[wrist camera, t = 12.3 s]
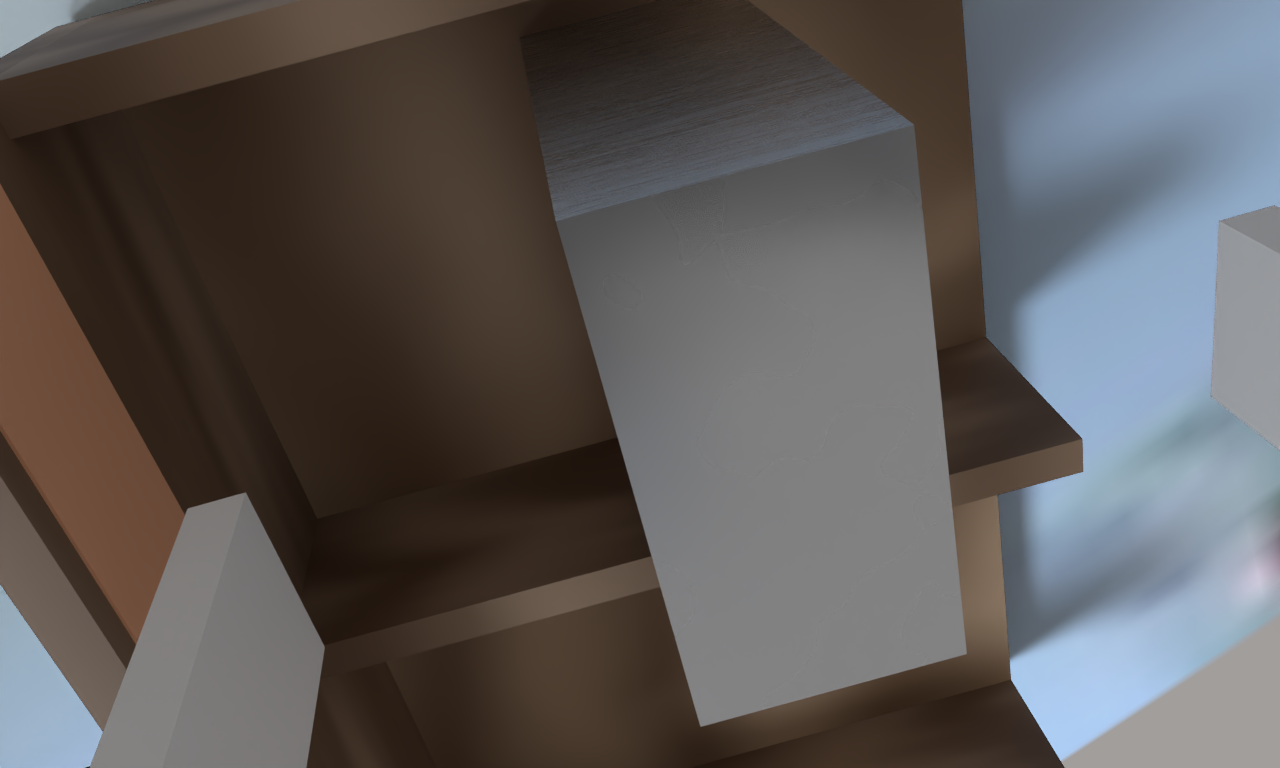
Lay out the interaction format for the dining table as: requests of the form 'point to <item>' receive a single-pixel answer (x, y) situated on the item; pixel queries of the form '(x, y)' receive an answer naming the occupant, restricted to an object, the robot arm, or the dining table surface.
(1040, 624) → the dining table surface
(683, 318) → the block
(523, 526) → the rack
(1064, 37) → the dining table surface
